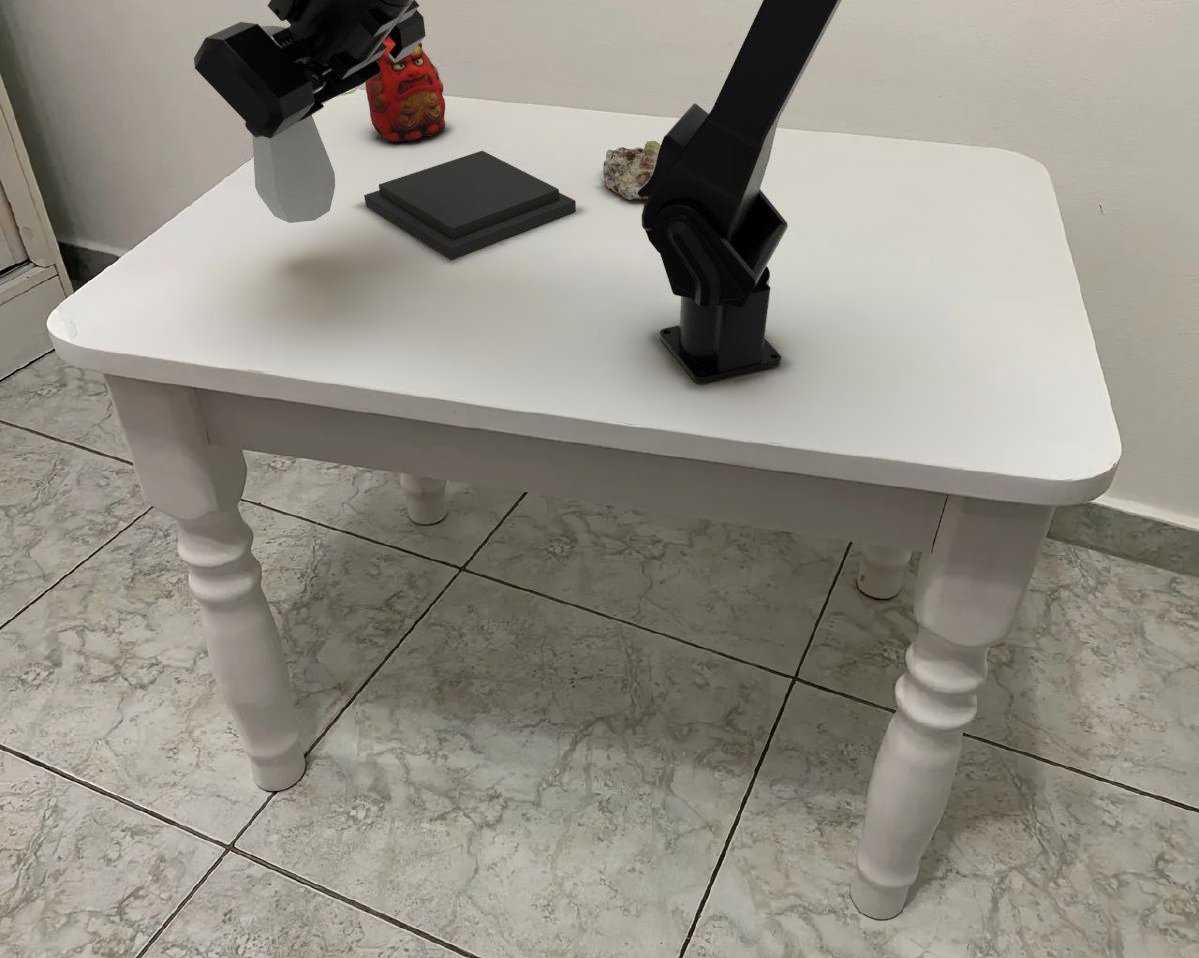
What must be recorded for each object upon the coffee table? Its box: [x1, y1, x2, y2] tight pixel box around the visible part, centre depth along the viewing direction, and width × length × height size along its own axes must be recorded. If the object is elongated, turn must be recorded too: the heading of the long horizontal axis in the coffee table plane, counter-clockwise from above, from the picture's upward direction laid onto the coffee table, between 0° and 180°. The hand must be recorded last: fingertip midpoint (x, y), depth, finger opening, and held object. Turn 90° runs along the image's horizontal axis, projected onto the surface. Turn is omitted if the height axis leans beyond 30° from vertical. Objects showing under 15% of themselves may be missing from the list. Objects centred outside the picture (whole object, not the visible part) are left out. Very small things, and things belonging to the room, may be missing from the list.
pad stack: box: [363, 150, 577, 260], centre depth 86 cm, size 13×13×2 cm
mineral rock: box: [602, 140, 661, 201], centre depth 89 cm, size 11×4×8 cm
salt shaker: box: [251, 25, 336, 224], centre depth 72 cm, size 6×6×13 cm
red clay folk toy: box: [364, 35, 446, 143], centre depth 95 cm, size 8×7×15 cm
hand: (267, 122), depth 72 cm, fingers closed on salt shaker, 3 cm apart
